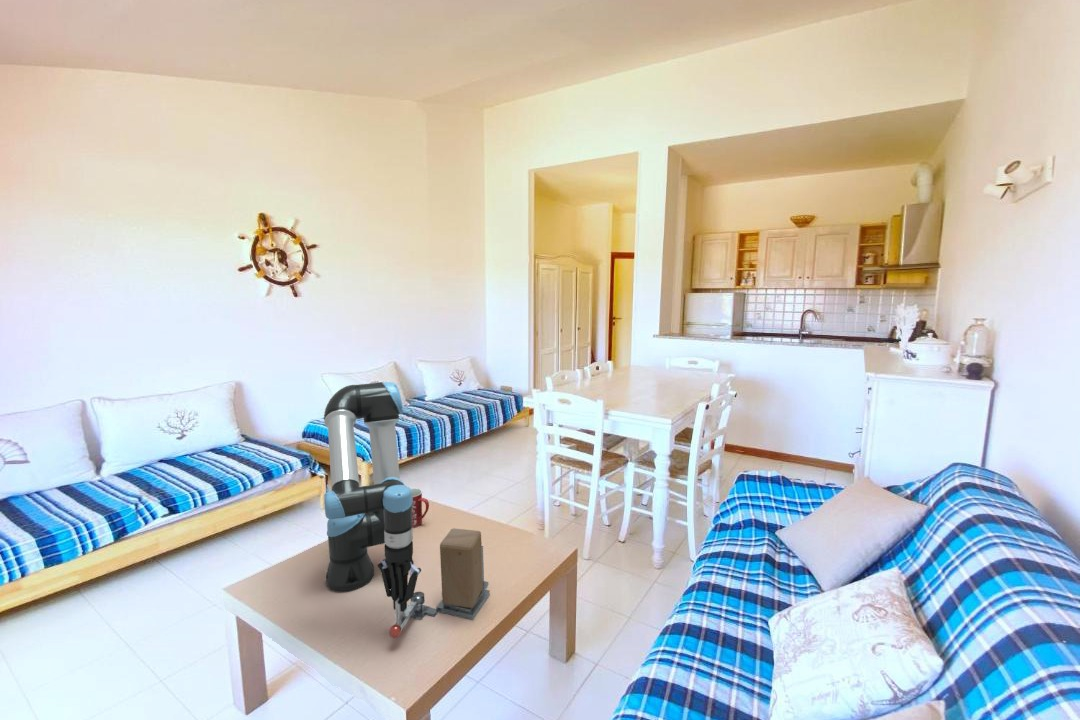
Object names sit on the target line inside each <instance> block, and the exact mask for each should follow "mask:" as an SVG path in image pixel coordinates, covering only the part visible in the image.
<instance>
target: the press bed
mask: <svg viewBox="0 0 1080 720" xmlns="http://www.w3.org/2000/svg"><path fill="white" fill-rule="evenodd" d="M481 547H482V579H483V589H482V591H481V593H480V595H479V597H478V599H477V600H476V602H475V604H474V606H473V607H472V608H467V607H460V606H452V605H445V604H443V602H442V600H441V601H440V602H439V603H438V604H437V606H436V607H435V608H434V607H431V606H429V605H424V604H422V605H421V606H417V607H416V609H415V610H414V612H413V613H412V615H411V616H410V619H411V618H412V619H415V620H419V621H421V620H422V619H423V618H424V617H425V616H429V617H433V618H435V616H436V615H437V614H438V613H441V614H446V615H449V616H453V617H458V618H463V619H466V620H471V621H473V620H474V619H475V618H476V616H477V615H478V613H479V612H480V611H481V608H482V607H484V604H485V602H486V601H487V599H489V596H490V595H491V594H490V591H491V590H489V589H487V588H488V586H489V581H486V580H485V571H484V570H485V567H484V564H485V563H484V546H483V545H481Z"/></svg>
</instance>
